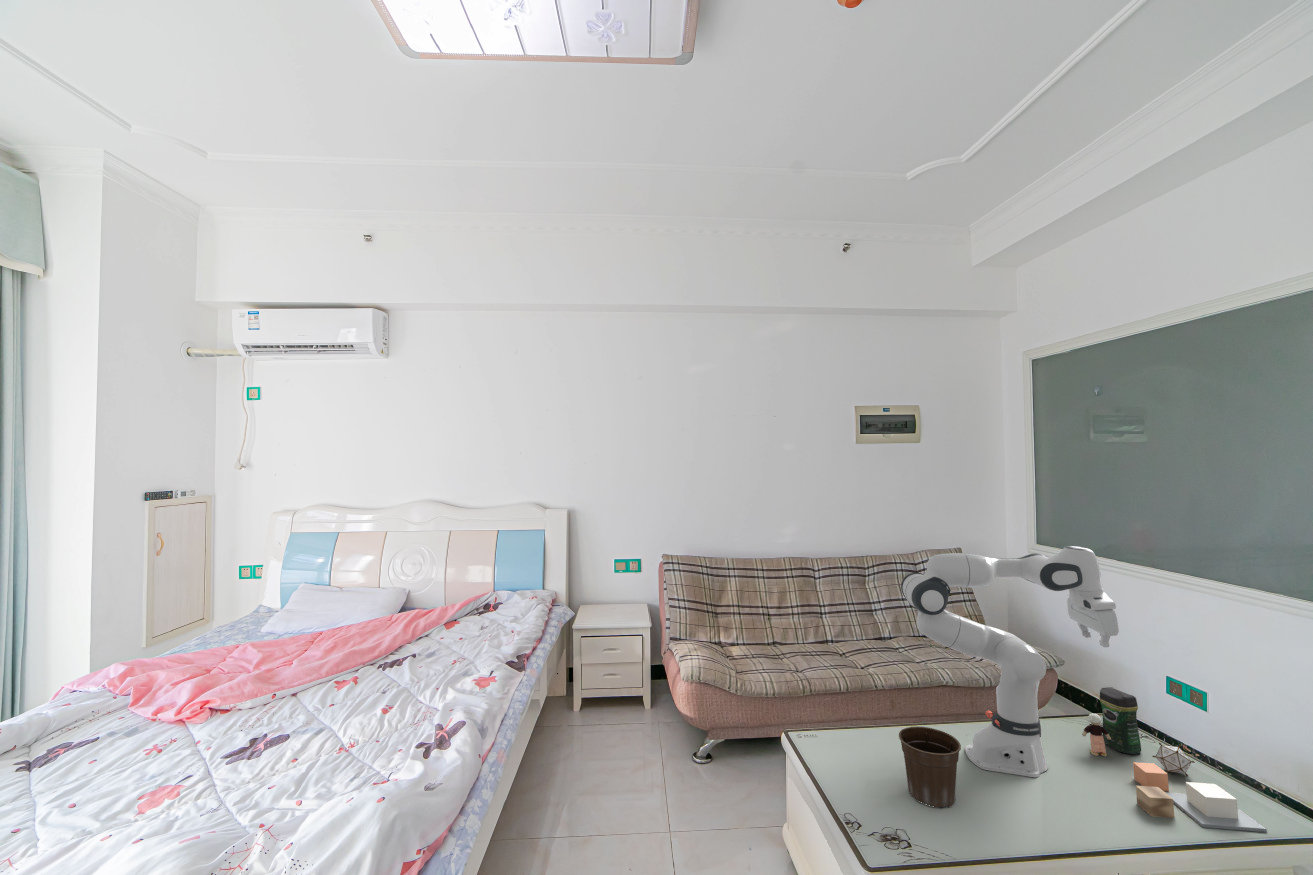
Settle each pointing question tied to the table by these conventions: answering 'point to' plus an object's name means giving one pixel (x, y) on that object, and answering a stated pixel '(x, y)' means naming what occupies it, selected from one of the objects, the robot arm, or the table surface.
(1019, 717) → the robot arm
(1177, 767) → the game die
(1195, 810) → the baseplate
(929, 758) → the plant pot
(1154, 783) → the terracotta brick
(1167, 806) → the oak brick
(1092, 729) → the grandmother figurine
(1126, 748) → the coffee jar
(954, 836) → the table surface
